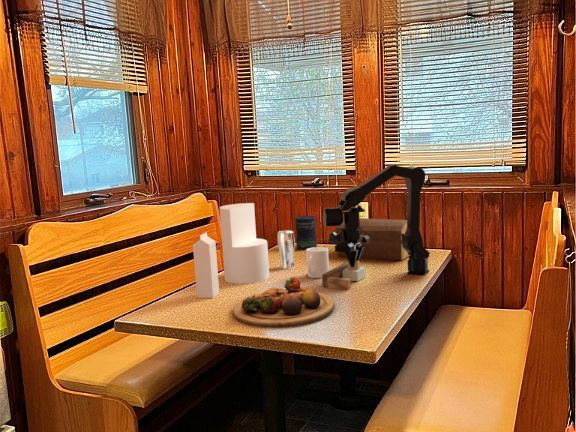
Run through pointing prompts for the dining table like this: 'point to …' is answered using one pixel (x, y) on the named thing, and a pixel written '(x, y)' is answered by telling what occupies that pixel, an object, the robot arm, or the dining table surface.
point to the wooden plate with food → (284, 307)
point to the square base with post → (354, 272)
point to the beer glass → (286, 248)
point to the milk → (206, 267)
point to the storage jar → (305, 232)
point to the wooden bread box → (381, 239)
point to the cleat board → (336, 278)
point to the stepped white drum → (242, 245)
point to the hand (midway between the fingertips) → (353, 266)
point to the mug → (317, 261)
